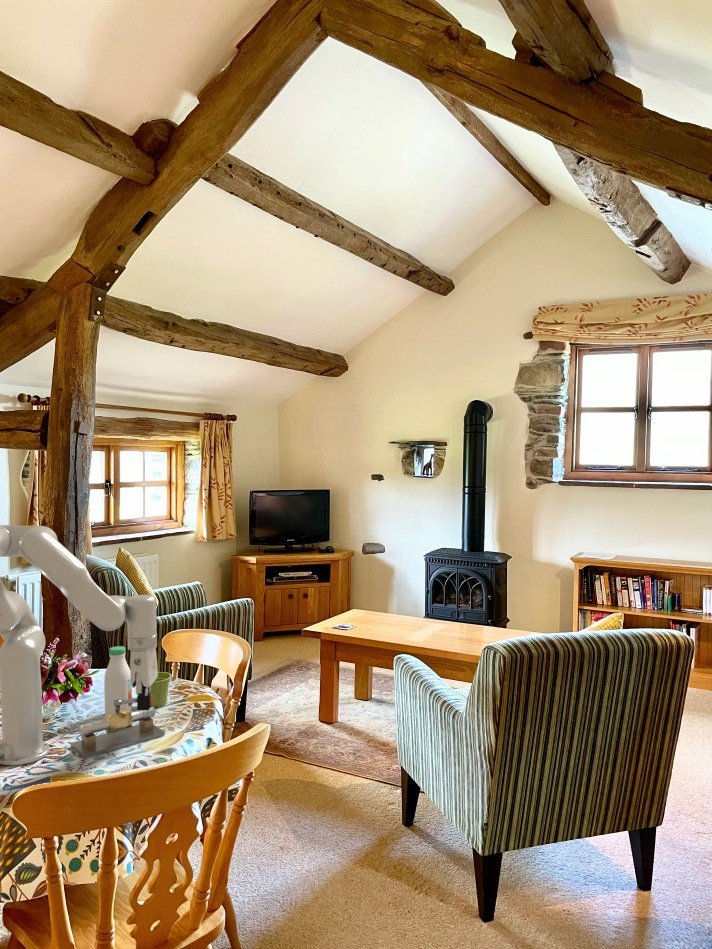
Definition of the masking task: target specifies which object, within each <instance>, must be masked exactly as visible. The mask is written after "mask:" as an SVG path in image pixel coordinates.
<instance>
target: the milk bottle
mask: <svg viewBox="0 0 712 949" xmlns="http://www.w3.org/2000/svg"><path fill="white" fill-rule="evenodd" d="M108 655H109V656H108V657H110V658H109V662H108V665H107V668H106V669H105V672H104V684H103V686H104V687H103V688H104V689H103V690H104V715H105V714H108V713H111V712H115V706H114V705H113V701H114V700H118V699H120V700H124V699H131V698H133V689H132V688H133V687H132V686H131V673H130V670H131V668H130V667H129V664H128V663H127V660H126V647H125V646H121V645H119V646H118V645H117V646H113V647H110V648H109V650H108ZM127 708H128V709H129V710H130V711H131V712H133V703H129V704H122V705H120V710H123V709H127Z"/></svg>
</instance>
